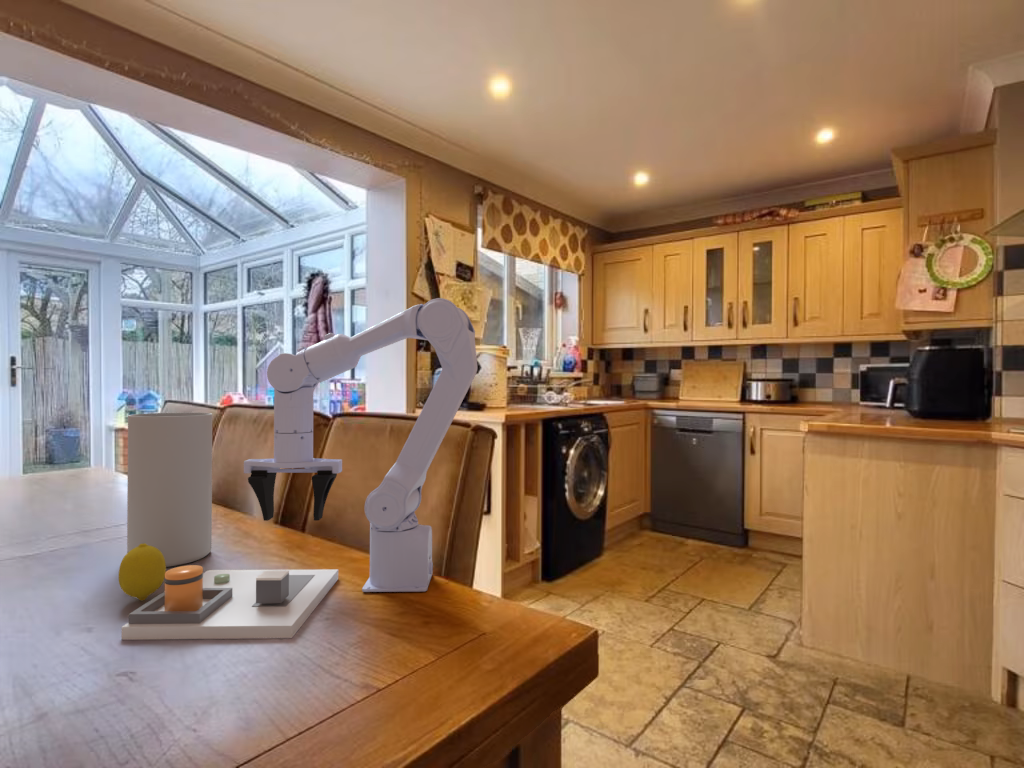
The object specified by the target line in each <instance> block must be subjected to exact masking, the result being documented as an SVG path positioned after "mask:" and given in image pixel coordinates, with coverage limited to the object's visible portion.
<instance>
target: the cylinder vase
mask: <svg viewBox="0 0 1024 768" xmlns="http://www.w3.org/2000/svg"><path fill="white" fill-rule="evenodd" d="M126 495H127V504H126V506H127V508H126V509H127V510H126V511H127V512H126V513H127V514H126V516H127V518H126V519H127V521H126V524H127V526H126V527H127V529H126V532H127V533H126V535H127V536H126V538H127V539H126V540H127V541H126V542H127V543H126V545H127V546H126V554H127V553H128V552H129V551H131V550H132V549H134V548H136V547H138V546H139V545H140V544H142V543H146V544H147V545H149V546H153V547H155V548H157V549H158V550H160V551H161V553H162V554H163V556H164V559H165V563H166V568H170V567H176V566H177V567H178V566H183V565H186V564H190V563H193V562H196V561H199V560H201V559H203V558H204V557H206V556H208V555H209V553H211V551H212V546H213V545H212V544H213V543H212V540H213V539H212V538H213V537H212V533H213V531H212V529H213V528H212V525H213V524H212V523H213V521H212V520H213V519H212V518H213V517H212V516H213V515H212V513H213V505H212V504H213V503H212V502H213V413H211V412H155V413H153V412H152V413H135V414H128V415H127V494H126Z"/></svg>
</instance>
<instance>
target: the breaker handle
mask: <svg viewBox="0 0 1024 768" xmlns="http://www.w3.org/2000/svg"><path fill="white" fill-rule="evenodd" d="M288 595H289V571H264V572H263V573H262V574H260V575H259V576H258V577H257V578H256V603H282V602H283V601H284V600H285V598H286V597H287V596H288Z"/></svg>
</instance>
